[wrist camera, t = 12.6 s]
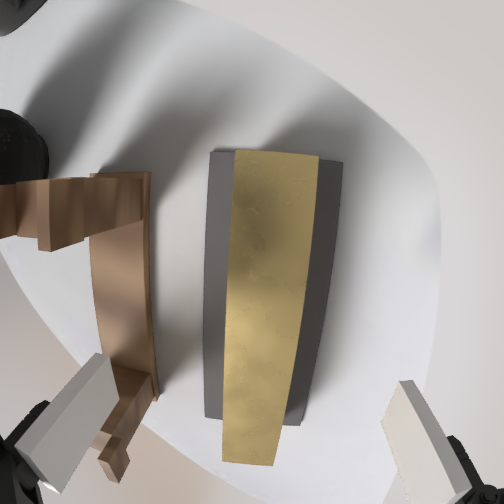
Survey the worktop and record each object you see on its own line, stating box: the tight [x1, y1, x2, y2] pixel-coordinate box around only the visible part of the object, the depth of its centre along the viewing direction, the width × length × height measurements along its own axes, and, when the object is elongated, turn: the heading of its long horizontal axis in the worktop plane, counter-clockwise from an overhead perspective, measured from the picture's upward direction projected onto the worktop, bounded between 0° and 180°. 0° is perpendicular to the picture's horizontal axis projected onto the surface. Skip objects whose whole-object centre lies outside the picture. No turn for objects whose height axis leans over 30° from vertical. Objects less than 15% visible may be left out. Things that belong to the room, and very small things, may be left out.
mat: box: [203, 152, 343, 426], centre depth 21 cm, size 23×9×1 cm, turn 176°
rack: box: [0, 172, 160, 483], centre depth 16 cm, size 20×6×11 cm, turn 176°
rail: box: [222, 149, 319, 466], centre depth 18 cm, size 22×4×6 cm, turn 176°
